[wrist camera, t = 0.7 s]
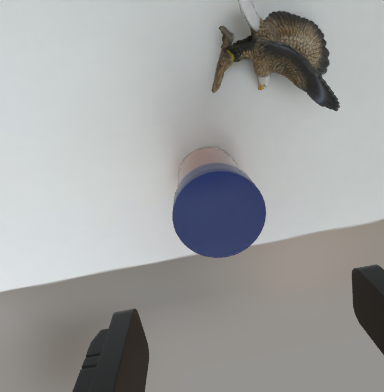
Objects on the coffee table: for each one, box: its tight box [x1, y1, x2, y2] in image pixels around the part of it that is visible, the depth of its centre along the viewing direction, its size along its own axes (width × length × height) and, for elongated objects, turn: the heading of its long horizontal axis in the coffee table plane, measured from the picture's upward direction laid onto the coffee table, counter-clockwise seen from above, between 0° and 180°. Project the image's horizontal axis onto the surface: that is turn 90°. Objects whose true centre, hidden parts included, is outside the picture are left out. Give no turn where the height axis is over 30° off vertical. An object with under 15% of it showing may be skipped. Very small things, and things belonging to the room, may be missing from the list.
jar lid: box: [173, 163, 266, 258], centre depth 20 cm, size 6×6×2 cm
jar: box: [177, 147, 240, 187], centre depth 24 cm, size 5×5×9 cm
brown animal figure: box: [212, 0, 340, 111], centre depth 22 cm, size 8×7×9 cm
